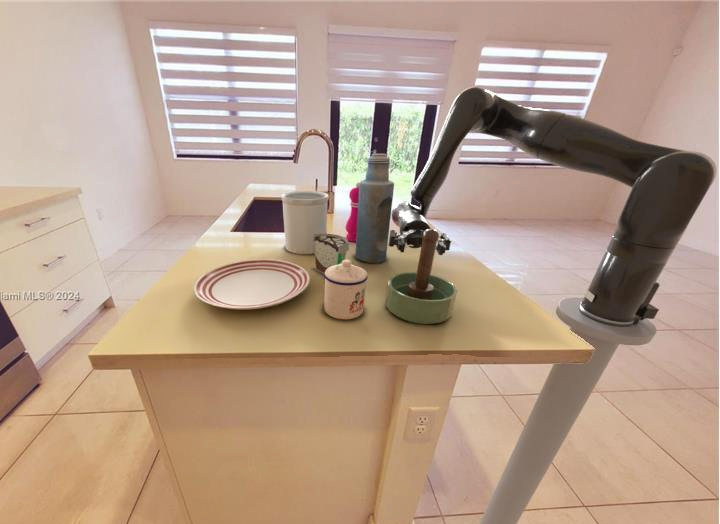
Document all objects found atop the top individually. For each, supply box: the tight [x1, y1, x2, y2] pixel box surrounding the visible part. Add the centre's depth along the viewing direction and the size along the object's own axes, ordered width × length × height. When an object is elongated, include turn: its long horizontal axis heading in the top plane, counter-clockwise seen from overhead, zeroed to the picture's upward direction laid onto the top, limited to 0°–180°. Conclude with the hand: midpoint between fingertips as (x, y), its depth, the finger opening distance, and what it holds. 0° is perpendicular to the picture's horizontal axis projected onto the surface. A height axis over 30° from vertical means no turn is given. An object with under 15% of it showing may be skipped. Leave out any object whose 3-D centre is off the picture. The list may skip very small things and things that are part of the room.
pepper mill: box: [345, 181, 360, 243], centre depth 111 cm, size 7×7×20 cm
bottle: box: [355, 153, 395, 264], centre depth 92 cm, size 10×10×30 cm
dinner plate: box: [193, 258, 311, 310], centre depth 77 cm, size 27×27×3 cm
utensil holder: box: [281, 190, 330, 255], centre depth 102 cm, size 15×15×18 cm
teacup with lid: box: [323, 259, 368, 320], centre depth 68 cm, size 12×9×12 cm
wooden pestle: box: [407, 228, 440, 300], centre depth 66 cm, size 5×5×18 cm
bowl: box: [385, 272, 458, 325], centre depth 69 cm, size 14×14×6 cm
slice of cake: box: [313, 233, 350, 275], centre depth 86 cm, size 12×6×10 cm, turn 35°
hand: (422, 249), depth 71 cm, fingers open, 8 cm apart
